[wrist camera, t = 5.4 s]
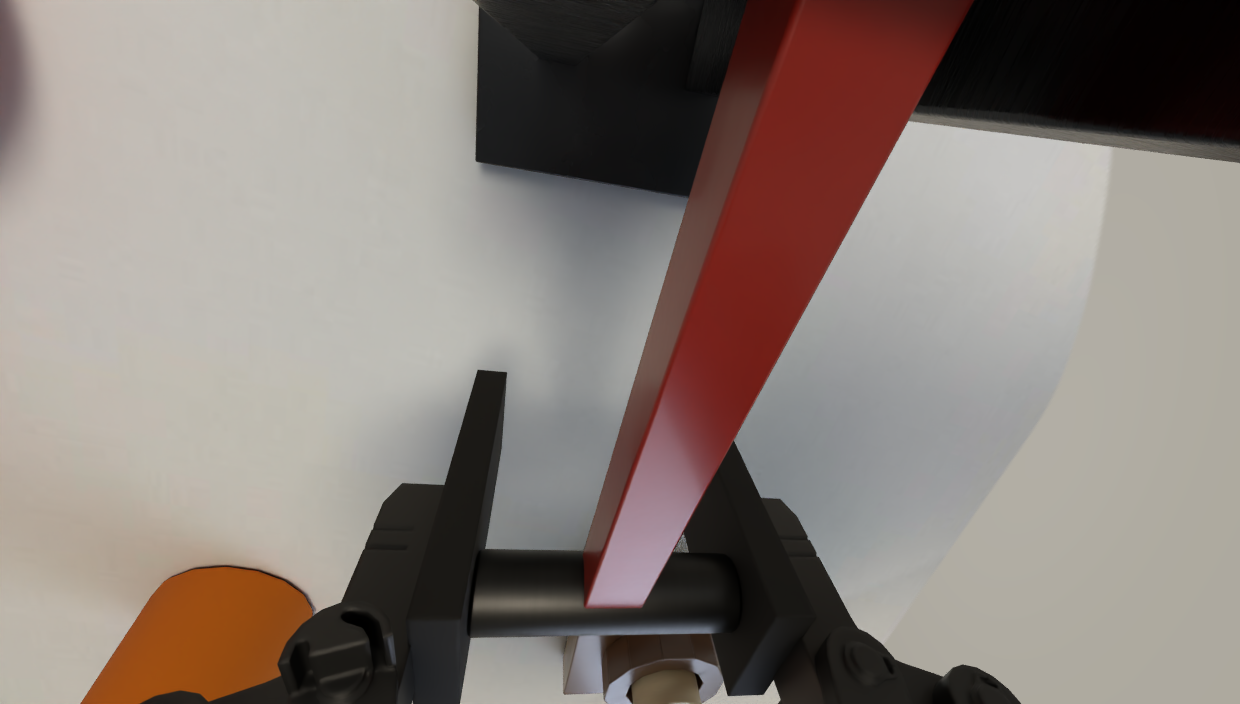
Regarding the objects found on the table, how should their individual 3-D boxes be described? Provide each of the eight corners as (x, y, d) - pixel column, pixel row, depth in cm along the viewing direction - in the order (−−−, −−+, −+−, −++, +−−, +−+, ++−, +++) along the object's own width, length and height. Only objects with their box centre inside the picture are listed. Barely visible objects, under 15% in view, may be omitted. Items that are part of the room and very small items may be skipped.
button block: (749, 571, 27) (777, 643, 24) (708, 652, 31) (726, 722, 28) (582, 570, 25) (585, 647, 22) (562, 656, 30) (563, 731, 26)
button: (702, 663, 25) (711, 701, 23) (685, 695, 26) (693, 732, 25) (638, 665, 24) (643, 704, 23) (625, 698, 26) (629, 736, 24)
